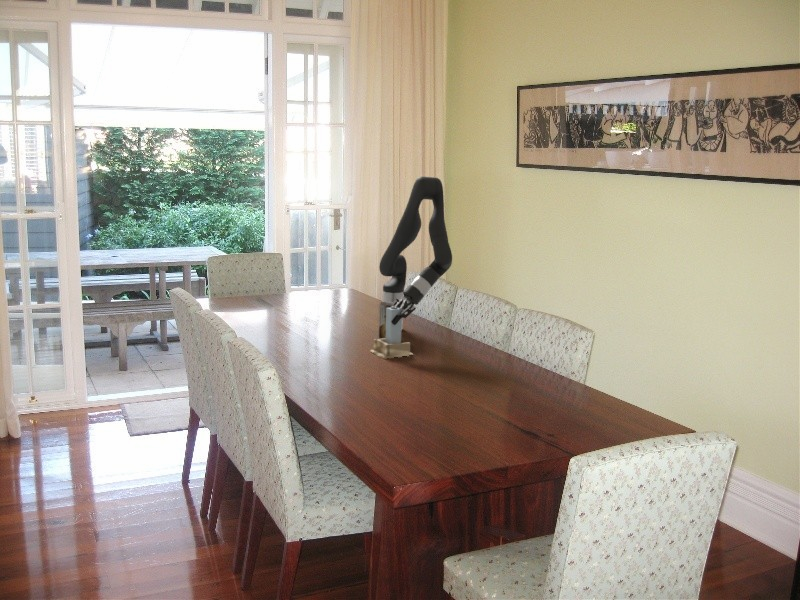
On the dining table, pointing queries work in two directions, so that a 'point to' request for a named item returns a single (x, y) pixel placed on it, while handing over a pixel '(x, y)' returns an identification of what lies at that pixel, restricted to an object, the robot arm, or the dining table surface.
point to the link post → (392, 326)
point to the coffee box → (383, 318)
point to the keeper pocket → (390, 349)
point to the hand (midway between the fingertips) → (389, 322)
